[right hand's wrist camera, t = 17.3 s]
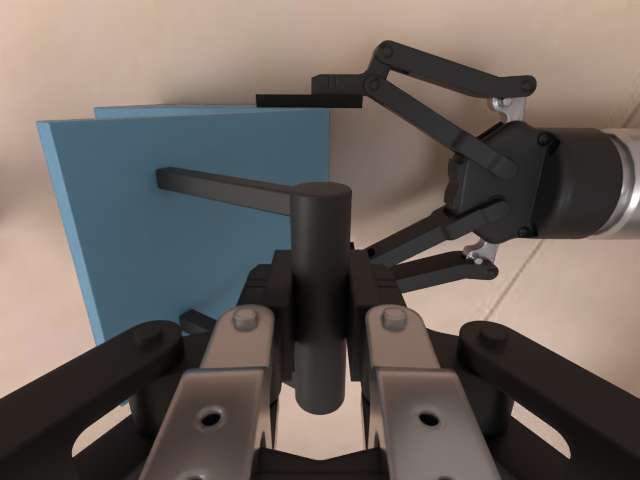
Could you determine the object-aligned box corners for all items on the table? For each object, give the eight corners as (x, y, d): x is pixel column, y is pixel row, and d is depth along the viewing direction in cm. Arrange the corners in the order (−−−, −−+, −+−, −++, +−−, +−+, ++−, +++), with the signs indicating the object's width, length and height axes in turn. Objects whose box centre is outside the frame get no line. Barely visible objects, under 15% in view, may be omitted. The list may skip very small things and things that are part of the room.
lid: (109, 398, 14) (278, 531, 10) (34, 120, 10) (255, 139, 6) (318, 264, 25) (438, 298, 21) (318, 108, 21) (465, 111, 17)
